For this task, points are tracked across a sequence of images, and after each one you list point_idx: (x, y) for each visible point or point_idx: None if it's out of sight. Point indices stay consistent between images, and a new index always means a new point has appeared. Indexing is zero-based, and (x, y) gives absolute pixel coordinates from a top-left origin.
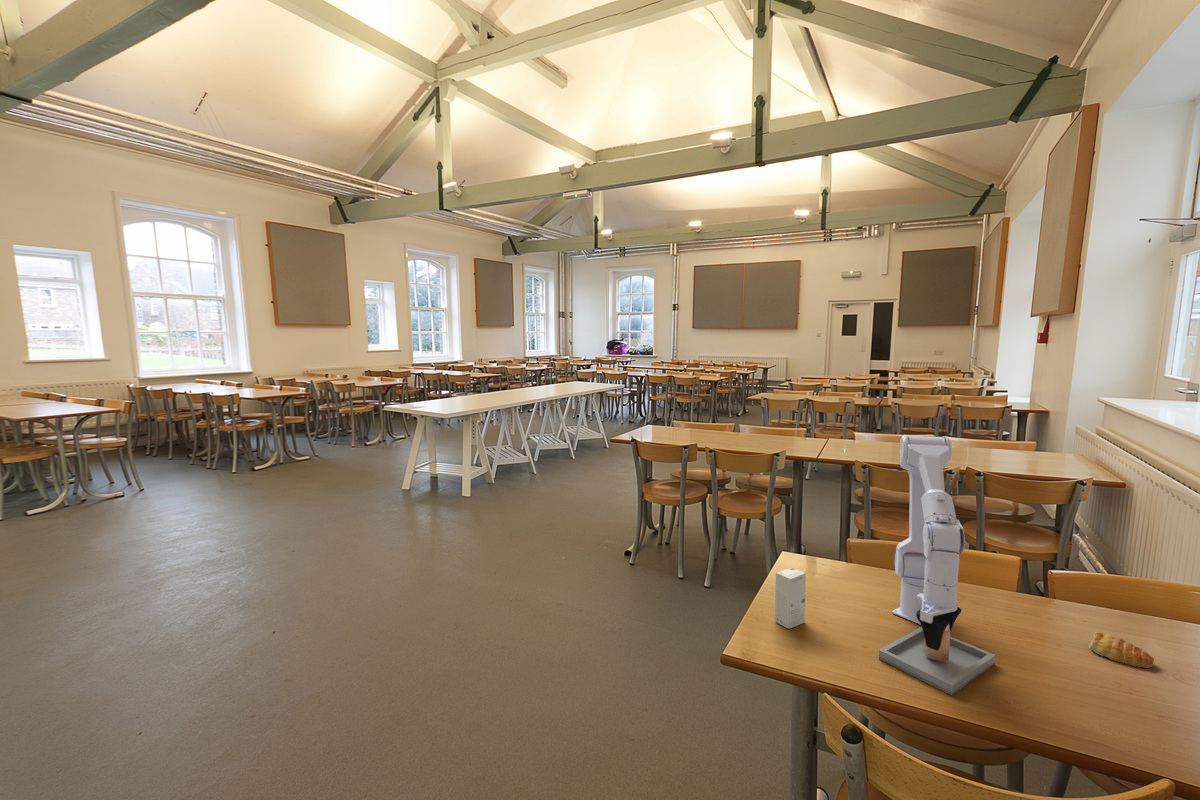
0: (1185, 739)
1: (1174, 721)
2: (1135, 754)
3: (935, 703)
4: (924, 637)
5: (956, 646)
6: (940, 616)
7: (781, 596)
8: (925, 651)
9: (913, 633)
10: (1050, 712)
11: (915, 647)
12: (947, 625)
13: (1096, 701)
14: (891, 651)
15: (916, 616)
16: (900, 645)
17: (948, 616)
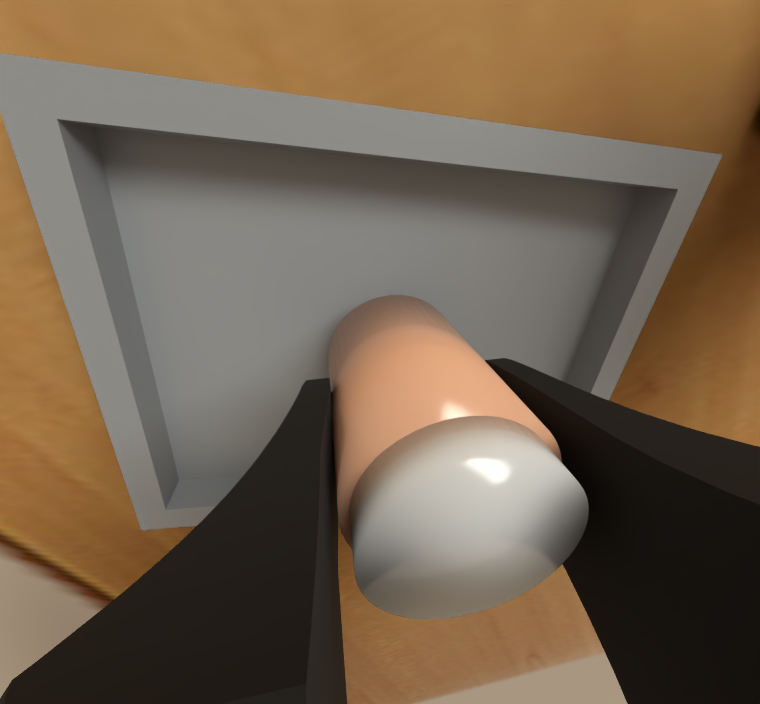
0: (475, 684)
1: (528, 664)
2: (348, 690)
3: (26, 484)
4: (290, 411)
5: (579, 356)
6: (628, 534)
7: None
8: (343, 330)
9: (547, 155)
10: (369, 608)
11: (424, 217)
12: (476, 605)
13: (509, 614)
14: (173, 134)
15: (9, 696)
16: (317, 150)
17: (628, 624)
